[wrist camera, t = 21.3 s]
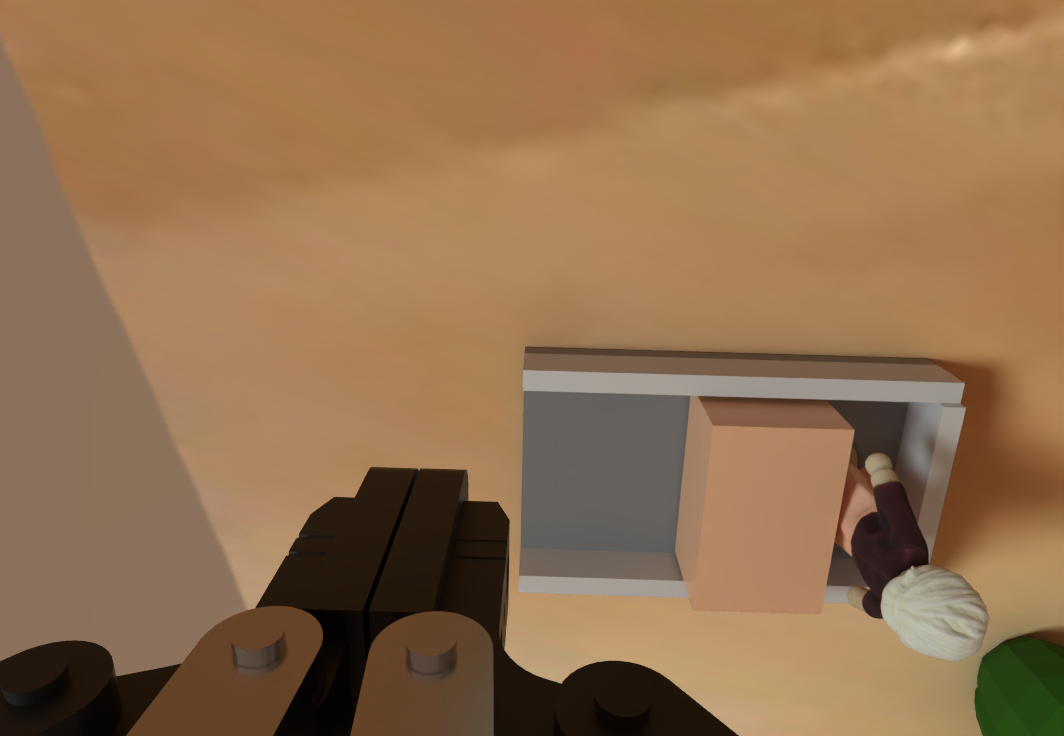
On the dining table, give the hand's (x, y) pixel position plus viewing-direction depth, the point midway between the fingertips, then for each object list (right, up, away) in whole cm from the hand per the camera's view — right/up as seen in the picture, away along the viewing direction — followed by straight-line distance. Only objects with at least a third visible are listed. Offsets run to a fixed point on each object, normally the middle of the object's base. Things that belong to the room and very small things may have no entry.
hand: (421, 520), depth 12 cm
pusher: (+12, -3, +26) cm, 29 cm away
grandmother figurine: (+17, -3, +26) cm, 31 cm away
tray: (+11, -2, +27) cm, 29 cm away
